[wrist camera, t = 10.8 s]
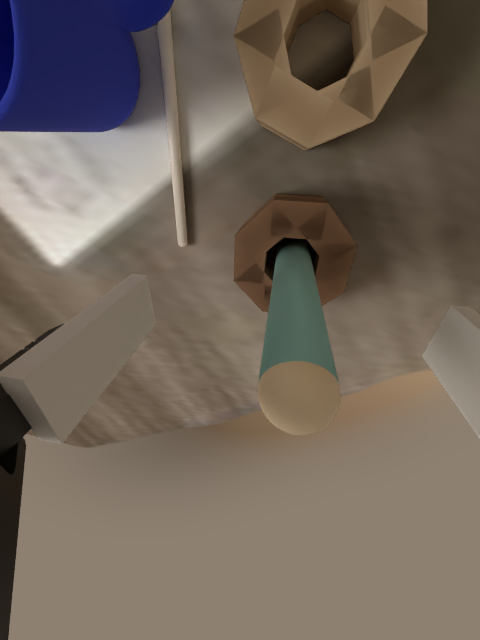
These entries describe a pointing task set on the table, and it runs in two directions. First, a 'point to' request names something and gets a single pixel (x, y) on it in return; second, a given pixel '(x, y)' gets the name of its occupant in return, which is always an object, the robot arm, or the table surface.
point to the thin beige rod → (172, 123)
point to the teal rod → (297, 348)
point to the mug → (71, 62)
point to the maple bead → (342, 96)
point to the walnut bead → (293, 222)
